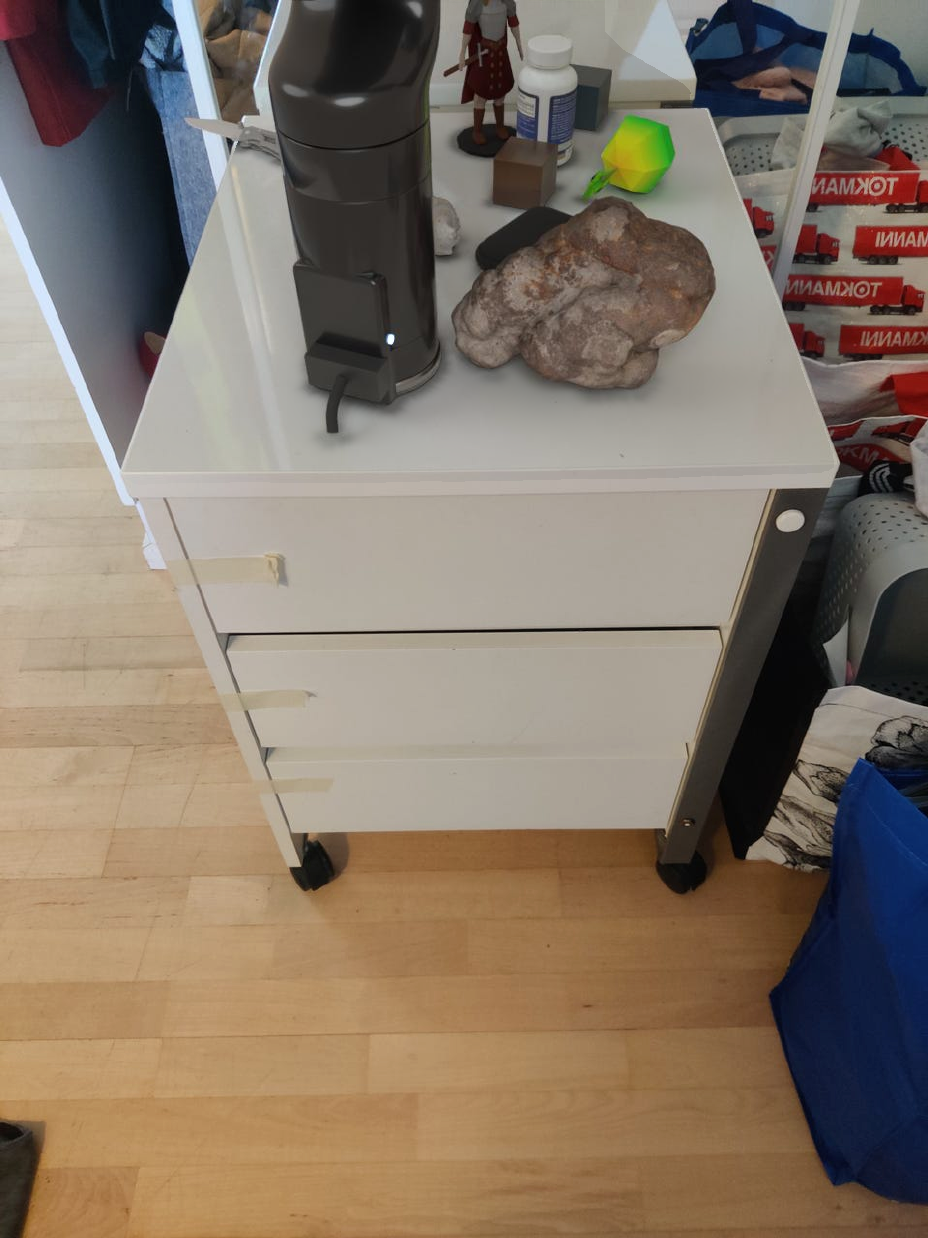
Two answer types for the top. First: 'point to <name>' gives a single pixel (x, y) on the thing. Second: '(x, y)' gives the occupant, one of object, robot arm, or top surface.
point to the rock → (590, 298)
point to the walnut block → (524, 173)
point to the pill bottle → (548, 94)
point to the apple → (635, 156)
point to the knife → (239, 134)
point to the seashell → (445, 226)
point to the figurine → (487, 72)
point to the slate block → (591, 96)
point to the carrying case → (518, 235)
